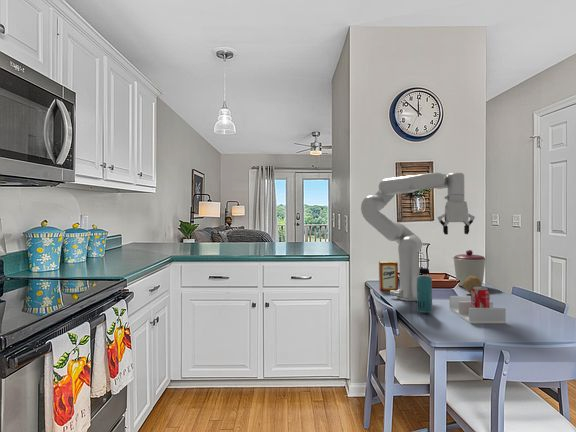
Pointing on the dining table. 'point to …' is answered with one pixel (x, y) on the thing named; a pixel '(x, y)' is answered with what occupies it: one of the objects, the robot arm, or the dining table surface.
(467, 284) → the natural sponge
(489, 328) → the dining table surface
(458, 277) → the canister
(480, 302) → the soda can
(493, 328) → the dining table surface
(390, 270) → the baking soda box
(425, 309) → the beverage bottle
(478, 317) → the white holder
